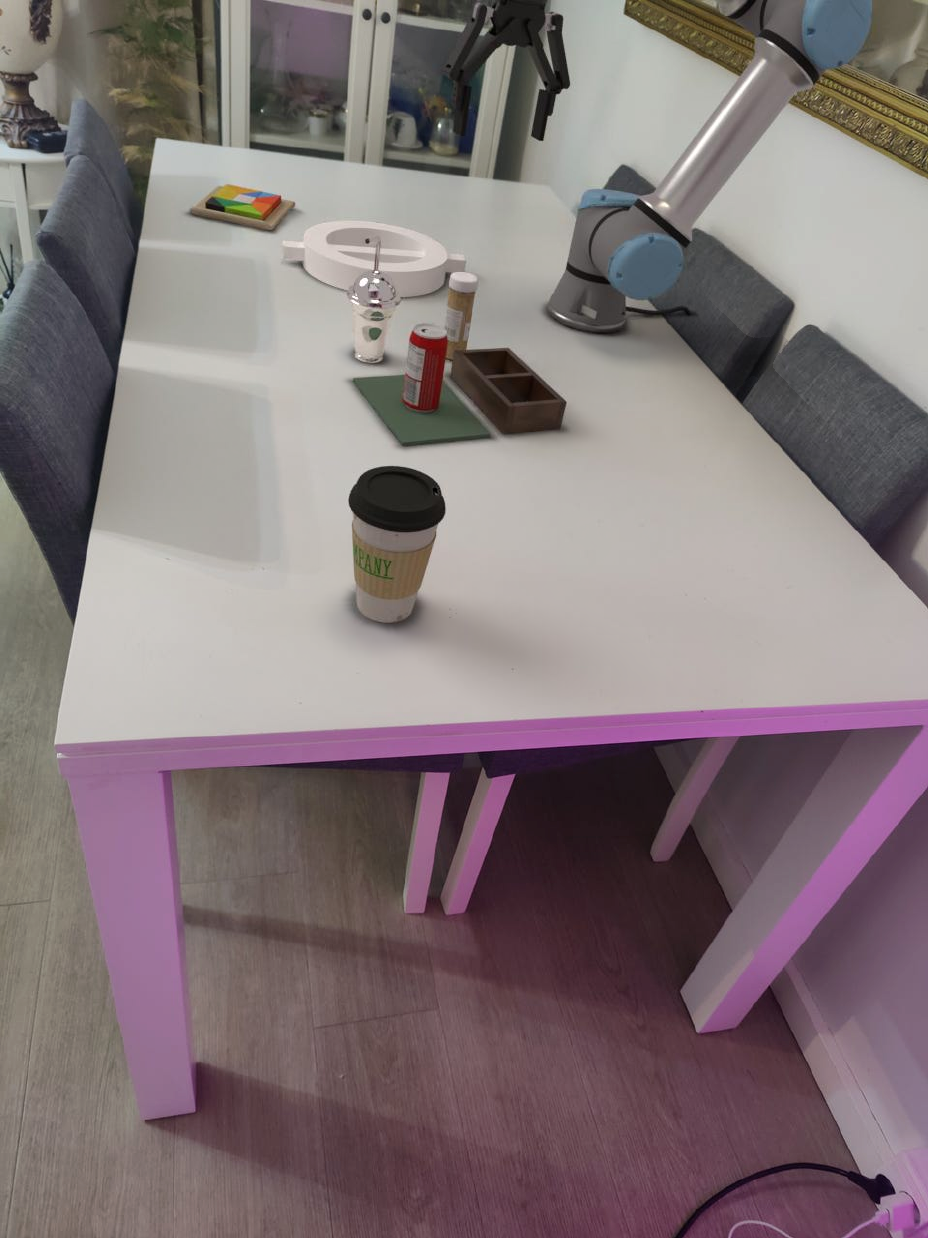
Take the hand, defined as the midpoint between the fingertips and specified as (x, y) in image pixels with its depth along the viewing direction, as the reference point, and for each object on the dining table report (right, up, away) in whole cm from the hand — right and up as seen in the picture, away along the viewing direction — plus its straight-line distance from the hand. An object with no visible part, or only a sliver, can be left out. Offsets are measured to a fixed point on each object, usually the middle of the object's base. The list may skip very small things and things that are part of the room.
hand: (498, 136), depth 138 cm
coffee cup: (-14, -72, -38) cm, 83 cm away
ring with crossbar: (-23, -4, +41) cm, 47 cm away
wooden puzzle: (-52, +13, +56) cm, 78 cm away
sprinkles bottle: (-7, -29, +15) cm, 34 cm away
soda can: (-12, -41, -2) cm, 43 cm away
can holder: (+1, -39, +5) cm, 40 cm away
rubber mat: (-12, -42, -1) cm, 44 cm away
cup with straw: (-21, -31, +10) cm, 39 cm away
